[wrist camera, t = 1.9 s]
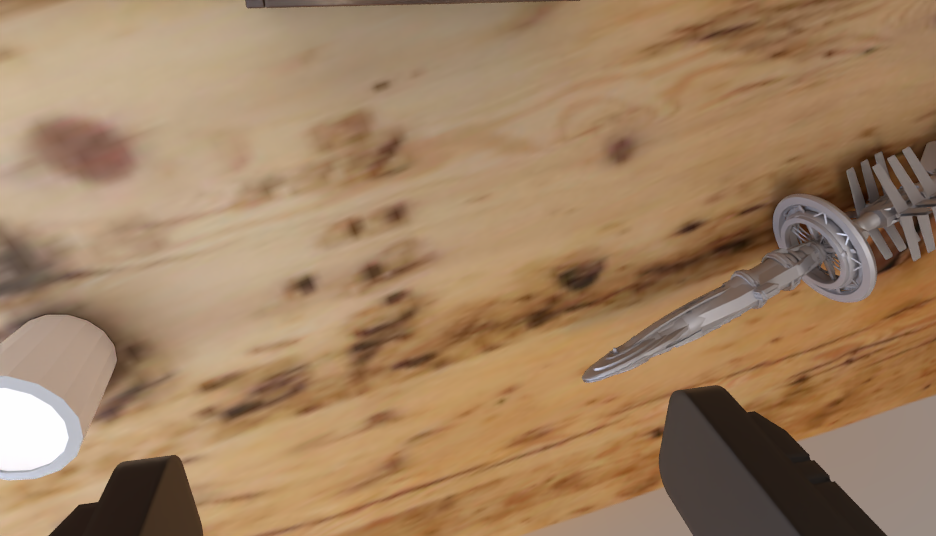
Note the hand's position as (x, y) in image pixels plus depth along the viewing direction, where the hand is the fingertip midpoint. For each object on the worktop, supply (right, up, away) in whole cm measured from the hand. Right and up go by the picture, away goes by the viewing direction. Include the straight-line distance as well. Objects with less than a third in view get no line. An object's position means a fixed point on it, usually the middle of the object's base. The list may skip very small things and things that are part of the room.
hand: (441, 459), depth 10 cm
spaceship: (+22, +6, +31) cm, 39 cm away
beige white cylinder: (-24, -2, +26) cm, 36 cm away
